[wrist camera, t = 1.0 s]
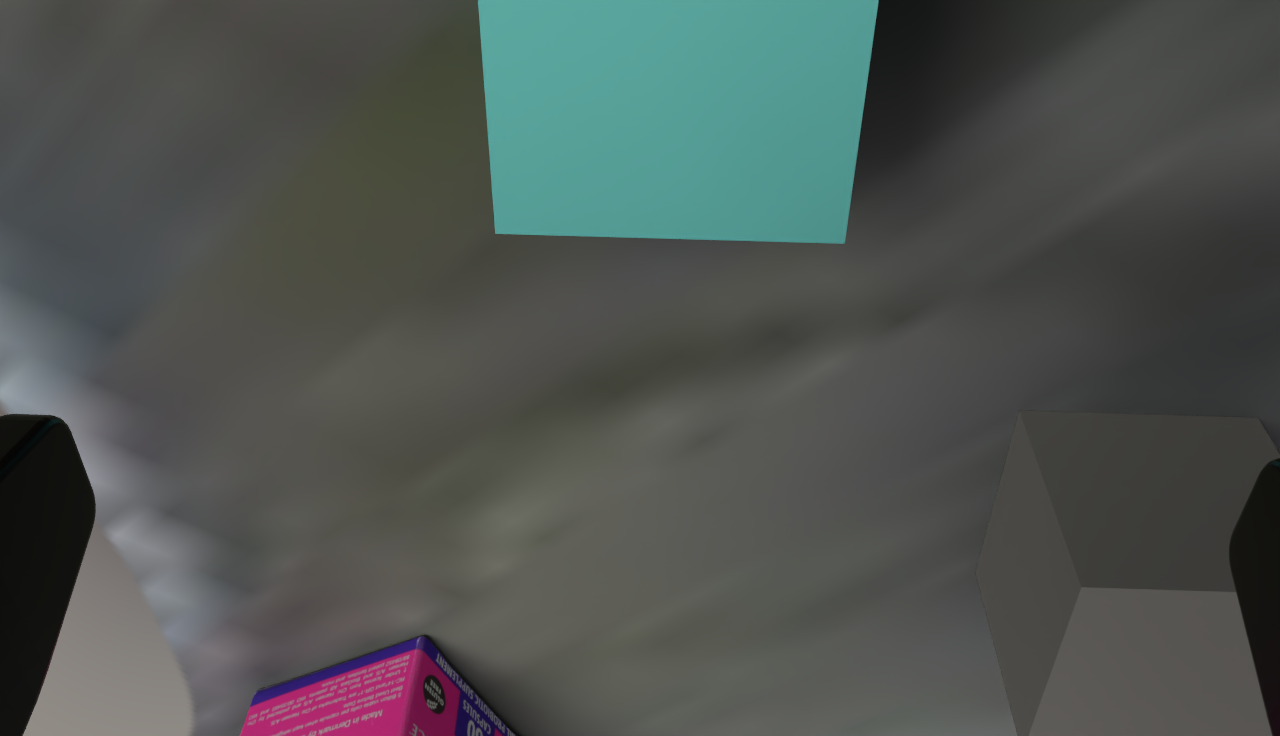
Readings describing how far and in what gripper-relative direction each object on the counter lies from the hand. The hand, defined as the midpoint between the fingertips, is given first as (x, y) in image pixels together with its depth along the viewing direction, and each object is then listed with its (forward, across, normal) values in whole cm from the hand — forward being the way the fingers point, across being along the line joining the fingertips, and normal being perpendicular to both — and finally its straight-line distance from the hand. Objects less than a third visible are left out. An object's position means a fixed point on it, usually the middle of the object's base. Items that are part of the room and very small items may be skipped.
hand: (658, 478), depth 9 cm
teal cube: (+13, 0, 0) cm, 13 cm away
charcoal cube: (+13, -10, +12) cm, 20 cm away
